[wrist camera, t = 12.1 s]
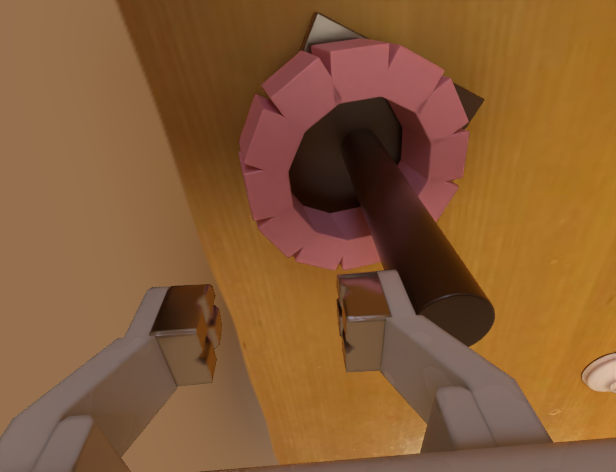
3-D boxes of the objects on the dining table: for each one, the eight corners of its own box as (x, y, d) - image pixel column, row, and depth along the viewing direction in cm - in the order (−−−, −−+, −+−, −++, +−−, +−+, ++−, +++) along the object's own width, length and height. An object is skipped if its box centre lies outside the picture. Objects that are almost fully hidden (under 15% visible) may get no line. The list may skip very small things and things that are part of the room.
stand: (250, 180, 20) (207, 397, 9) (314, 11, 16) (382, 27, 5) (384, 228, 23) (480, 449, 11) (471, 92, 18) (766, 235, 7)
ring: (261, 256, 19) (268, 289, 17) (217, 58, 14) (219, 67, 12) (426, 219, 21) (453, 245, 18) (444, 26, 15) (486, 28, 13)
